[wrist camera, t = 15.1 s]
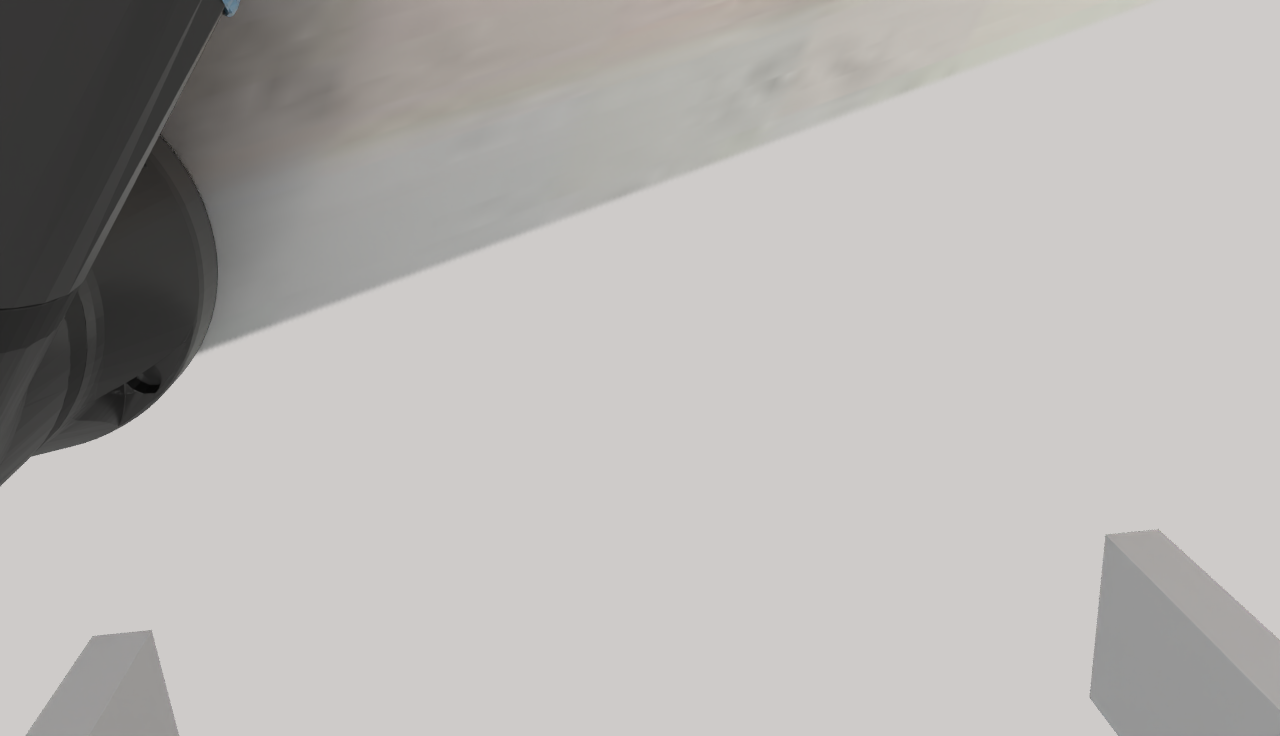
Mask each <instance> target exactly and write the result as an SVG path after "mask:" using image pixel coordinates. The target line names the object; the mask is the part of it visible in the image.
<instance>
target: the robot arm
mask: <svg viewBox="0 0 1280 736" xmlns="http://www.w3.org/2000/svg"><path fill="white" fill-rule="evenodd" d="M239 3H240V0H0V486H1V485H2V484H3V483H4V482H5V481H6V480H7V479H8V478H9V477H10V476H11V475H12V474H13V473H14V472H15V471H16V470H17V469H19V467H21V466H22V465H23V464H24V463H25V462H26V461H27V460H28V459H29V458H30V457H31V456H35V455H39V454H43V453H47V452H51V451H55V450H59V449H63V448H67V447H71V446H75V445H79V444H82V443H86V442H88V441H91V440H94V439H97V438H99V437H102V436H104V435H106V434H108V433H110V432H112V431H114V430H116V429H118V428H120V427H121V426H123V425H125V424H127V423H128V422H130V421H131V420H133V419H134V418H136V417H138V416H139V415H140V414H142V413H143V412H144V411H145V410H147V409H148V408H149V407H150V406H151V405H152V404H153V403H155V402H156V401H157V400H158V399H159V398H160V397H161V396H162V395H163V394H164V393H165V391H166V390H167V389H168V388H169V387H170V386H171V385H172V384H173V383H174V381H175V380H176V379H177V378H178V377H179V376H180V375H181V374H182V372H183V371H184V370H185V369H186V367H187V366H188V365H189V363H190V362H191V360H192V359H193V357H194V356H195V354H196V353H197V351H198V349H199V347H200V345H201V343H202V341H203V339H204V337H205V334H206V332H207V329H208V326H209V323H210V321H211V317H212V313H213V309H214V304H215V298H216V290H217V259H216V250H215V244H214V238H213V234H212V230H211V226H210V222H209V219H208V216H207V213H206V210H205V208H204V205H203V203H202V200H201V198H200V196H199V193H198V191H197V189H196V187H195V185H194V183H193V182H192V180H191V178H190V176H189V175H188V173H187V171H186V170H185V168H184V167H183V165H182V164H181V162H180V161H179V159H178V158H177V156H176V155H175V154H174V152H173V151H172V150H171V149H170V147H169V146H168V145H167V144H166V142H165V141H164V140H163V139H162V138H161V137H160V136H159V135H160V133H161V131H162V129H163V127H164V125H165V123H166V121H167V120H168V118H169V116H170V114H171V112H172V110H173V108H174V106H175V104H176V102H177V100H178V98H179V96H180V94H181V93H182V91H183V89H184V87H185V85H186V83H187V81H188V79H189V77H190V75H191V73H192V71H193V69H194V67H195V65H196V64H197V62H198V60H199V58H200V56H201V54H202V52H203V50H204V48H205V46H206V44H207V42H208V40H209V38H210V37H211V35H212V33H213V31H214V29H215V27H216V25H217V23H218V21H219V19H220V17H221V15H222V14H224V15H226V16H228V17H232V16H233V15H234V14H235V12H236V11H237V9H238V7H239ZM1090 699H1091V700H1092V701H1093V703H1094V704H1095V705H1096V707H1097V708H1098V709H1099V711H1100V712H1101V713H1102V715H1103V716H1104V717H1105V719H1106V720H1107V721H1108V723H1109V724H1110V725H1111V727H1112V728H1113V729H1114V731H1115V732H1116V733H1117V735H1118V736H1280V640H1279V639H1278V638H1277V637H1276V636H1275V635H1274V634H1273V633H1271V632H1270V631H1269V630H1268V629H1267V628H1266V627H1265V626H1264V625H1263V624H1262V623H1260V622H1259V621H1258V620H1257V619H1256V618H1255V617H1254V616H1253V615H1252V614H1251V613H1249V612H1248V611H1247V610H1246V609H1245V608H1244V607H1243V606H1242V605H1241V604H1239V602H1237V601H1236V600H1235V599H1234V598H1233V597H1232V596H1231V595H1230V594H1229V593H1228V592H1227V591H1225V590H1224V589H1223V588H1222V587H1221V586H1220V585H1219V584H1218V583H1217V582H1216V581H1214V580H1213V579H1212V578H1211V577H1210V576H1209V575H1208V574H1207V573H1206V572H1205V571H1203V570H1202V569H1201V568H1200V567H1199V566H1198V565H1197V564H1196V563H1195V562H1194V561H1193V560H1191V559H1190V558H1189V557H1188V556H1187V555H1186V554H1185V553H1184V552H1183V551H1182V550H1180V549H1179V548H1178V547H1177V546H1176V545H1175V544H1174V543H1173V542H1172V541H1171V540H1169V539H1168V538H1167V537H1166V536H1165V535H1164V534H1163V533H1162V532H1161V531H1159V530H1148V531H1138V532H1128V533H1118V534H1108V535H1106V536H1105V547H1104V557H1103V566H1102V577H1101V587H1100V597H1099V607H1098V618H1097V628H1096V638H1095V649H1094V658H1093V668H1092V679H1091V689H1090ZM26 736H179V734H178V730H177V727H176V723H175V719H174V715H173V711H172V707H171V704H170V700H169V696H168V692H167V689H166V685H165V680H164V677H163V673H162V669H161V665H160V661H159V657H158V654H157V650H156V646H155V642H154V638H153V634H152V631H151V630H149V631H140V632H129V633H120V634H110V635H100V636H93V637H92V638H91V640H90V641H89V643H88V644H87V646H86V647H85V648H84V650H83V651H82V653H81V654H80V656H79V658H78V659H77V660H76V662H75V663H74V665H73V666H72V668H71V669H70V671H69V672H68V674H67V675H66V677H65V678H64V680H63V681H62V683H61V684H60V685H59V687H58V689H57V690H56V691H55V693H54V695H53V696H52V697H51V699H50V700H49V702H48V703H47V705H46V706H45V708H44V709H43V711H42V712H41V714H40V715H39V717H38V718H37V720H36V721H35V722H34V724H33V725H32V727H31V728H30V730H29V731H28V733H27V735H26Z"/></svg>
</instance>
